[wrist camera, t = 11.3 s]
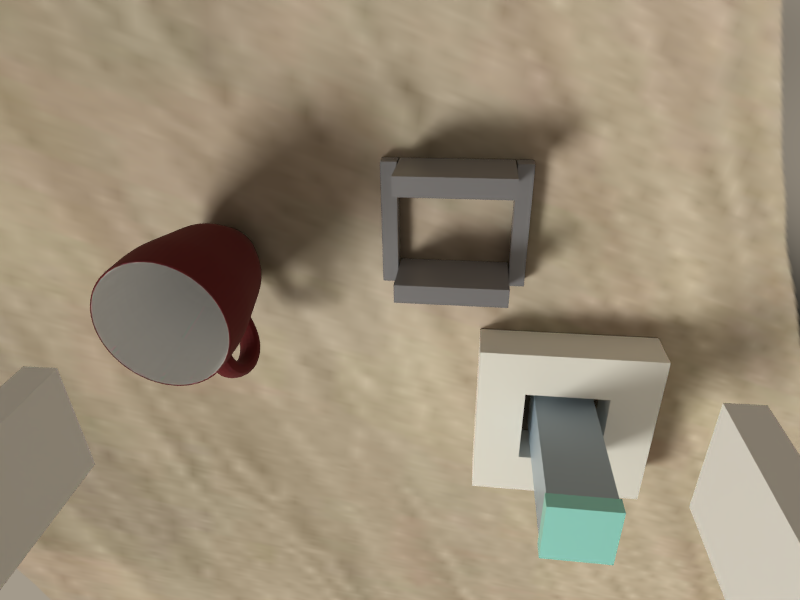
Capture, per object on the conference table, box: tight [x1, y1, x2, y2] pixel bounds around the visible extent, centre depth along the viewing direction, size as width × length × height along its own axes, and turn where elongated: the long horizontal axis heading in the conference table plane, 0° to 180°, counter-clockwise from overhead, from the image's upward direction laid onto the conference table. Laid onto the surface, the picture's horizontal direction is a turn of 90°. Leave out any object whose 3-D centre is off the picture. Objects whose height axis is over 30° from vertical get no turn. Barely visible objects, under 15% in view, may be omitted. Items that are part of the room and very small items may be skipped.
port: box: [472, 329, 671, 499], centre depth 42 cm, size 12×12×3 cm
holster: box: [380, 157, 535, 308], centre depth 36 cm, size 8×9×4 cm
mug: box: [90, 223, 261, 386], centre depth 37 cm, size 10×8×10 cm
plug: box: [527, 395, 626, 565], centre depth 38 cm, size 4×4×12 cm
